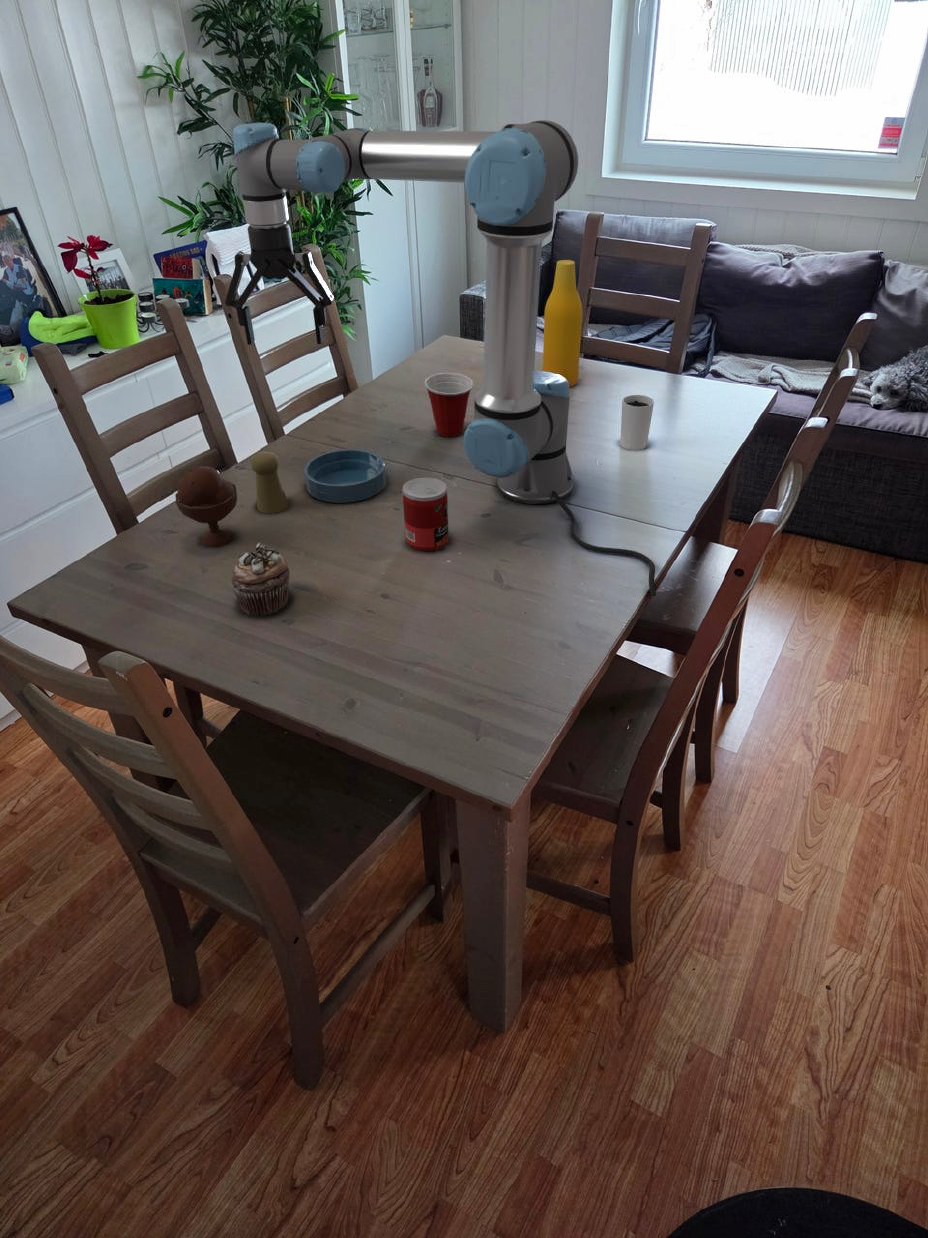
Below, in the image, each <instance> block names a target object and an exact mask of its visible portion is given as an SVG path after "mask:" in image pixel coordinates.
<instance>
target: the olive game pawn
mask: <svg viewBox="0 0 928 1238" xmlns="http://www.w3.org/2000/svg"><path fill="white" fill-rule="evenodd" d="M250 464H251V469H252V470H253V472H255V484H256V485H255V487H256V506H257V510H258V511H259V512H260V513H265V514H275V513H276V514H277V513H279V512H282V511H284V510H286V509H287V508H288V506H289V502H288V498H287V495H286V492H285V489H284V485H283V483H282V480H281V477H280V473H279V471H278V469H279V467H280V461H279V458H278V456H277V455H276V454H275V453H274V452H272V451H259V452H257V453H255V454H254V455H253V456H252V457H251V460H250Z"/></svg>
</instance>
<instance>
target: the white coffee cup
mask: <svg viewBox="0 0 928 1238" xmlns="http://www.w3.org/2000/svg"><path fill="white" fill-rule="evenodd" d="M654 405H655V400H654V399H653V398H652V397H651V396H647V395H643V394H629V395H626V396H624V397H623V398H622V401H621V417H620V418H621V420H620V421H621V422H620V441H619V444H620V446H621V447H622V448H623V449H626V450H631V451H640V450H643V449H645V448H646V447H647V445H648V440H649V434H650V429H651V424H652V423H651V422H652V416H653V411H654Z"/></svg>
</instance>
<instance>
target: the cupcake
mask: <svg viewBox="0 0 928 1238" xmlns="http://www.w3.org/2000/svg"><path fill="white" fill-rule="evenodd" d="M229 580H230V581H229V585H230V588H231V590H232V592H233V594H234V595H235V597H236V600H237V602H238V604H239V606H240V608H241V609H242V611H243V612H244V613H246V614H248V615H252V616H257V617H258V616H260V617H261V616H267V615H272V614H275V613H277V612H278V611H280V610H281V609H283V608H284V607H285V606H286V605H287V604H288V601H289V588H290V568H289V562H288V560H287V559H286V558H285V557H284V556H283V555H282V554H280V552H279V551H278V550H277V549H275V548H272V547H270V546H266V545H265V544H264V543H263V542H258V543H257V544H256V546H255V550H249V549H246V550H245V553H244V554H243V555H242V556H241V557H240V558H239V559H238V562H237V563H236V564H235V565H234V566H233V568H232V576H231V578H230V579H229Z"/></svg>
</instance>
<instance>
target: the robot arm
mask: <svg viewBox="0 0 928 1238" xmlns="http://www.w3.org/2000/svg"><path fill="white" fill-rule="evenodd" d="M279 137H280V135H278V129H277V127H276V126H275V124H273V123H269V122H251V123H250V122H249V123H243V124H238V125H237V126H235V127H234V129H233V130H232V139H233V148H234V150H233V151H234V158H235V163H236V167H237V168H236V169H237V174H238V177H239V184H240V189H241V196H242V205H243V209H244V217H245V222H246V224H248V227H247V235H248V241H249V246H250V253H244V251H242V250H239V251H238V252H237V253H236V254H235V255H234V269H233V273H232V277H231V280H230V283H229V287H228V289H227V294H226V297H225V300H224V304H225V306H227V307H232V308H234V309H235V310H236V315H237V320H238V324H239V326H240V327H243V328H244V333H245V337H246V343H247V345H248V346H249V345H250V346H251V345H253V343H255V340H256V339H255V332H254V328H253V321H252V315H251V310H250V309H251V308H250V306H249V305H245V304H246V303H247V301H248V300H249V298H250V297H251V295H252V293H253V292H254V290H255V289H256V287H257V286H258V284H259V282H260V281H261V279H262V278H264V279H266V280H273V279H277V280H284V279H286V278H287V279H288V280H289V281H290V282H291V283H293V284H294V285H295V286H296V287H297V289H298V290H300V291H301V293H302V294H303V295H305V297H306V298H307V299H308V300H309V301H310V302H311V304H313V305H314V307H313V309H312V313H313V321H314V329H315V336H316V337H315V338H316V345H322V344H323V341H324V331H323V326H325V325H326V324H327V313H326V307H327V306H328V307H329V306H331V305H332V304H333V302H334V300H335V297H334V295H333V294H332V292H331V290H330V289H329V287H328V285H327V283H326V281H325V280H324V278H323V277H322V275H321V273H320V272H319V270H318V269H317V267H316V265H315V263H314V260H313V256H312V252H311V250H307V249H306V250H305V251H303V252H298V253H296V252H295V250H294V246H293V240H292V232H291V226H290V224H289V223H288V222H289V219H290V218H289V210H288V203H287V202H288V201H287V196H286V190H288V191H289V190H290V191H299V192H307V193H308V192H309V193H312V194H321V193H325V194H327V193H328V194H329V193H334V192H336V191H338V190H339V188H340V186H341V185H342V184H343V182H346V181H350V180H384V181H385V180H387V181H388V180H389V181H412V182H415V181H416V182H434V183H435V182H439V183H461V184H463V183H464V188H465V195H466V198H467V201H468V203H469V205H470V206H471V207H472V209H473V211H474V214H475V215H476V216H477V217H476V218H477V219H476V220H477V221H476V222H477V223H476V224H477V225H476V229H477V231H478V233H480V234H481V236H483V238H484V239H485V241H486V256H485V257H486V258H485V259H486V261H485V262H486V263H485V299H484V300H485V305H484V342H483V343H484V346H483V347H484V349H483V386H482V387H481V388H480V389H478V390H477V391H476V393H475V394H474V401H473V402H474V403H473V405H474V408H473V409H474V410H473V421H471V422H470V423H469V424H468V426H467V427H466V429H465V431H464V433H463V438H462V442H463V443H462V444H463V448H464V452H465V454H466V457H467V458H468V460H469V462H471V463H472V464H473V465H474V466H475V468H476V469H477V470H478V471H480V472H482V474H484V475H487V476H489V477H493V478H497V479H496V480H497V481H496V482H497V490H498V492H499V493H500V494H501V495H502V496H503V497H505V498H507V499H508V500H511V501H514V502H517V503H521V504H526V505H546V504H552V503H556V502H557V503H558V505H559V506H560V507H561V508H562V510H563V511H564V512H565V514H566V515H567V516H568V517H569V519H570V522H571V535H572V539H573V540H574V542H575V543H577V545H579V547H582V548H584V549H586V550H589V551H591V552H597V553H603V554H611V555H622V556H629V557H633V558H636V559H639V560H640V561H642V562H644V563H645V564H646V565H647V566H648V567H649V571H648V589H649V595H650V596H651V597H656V596H657V592H656V584H655V576H656V564H655V563H654V562H653V561H652V559H650V558H649V557H648V556H646V555H645V554H643V553H641V552H638V551H635V550H632V549H626V548H618V547H617V548H616V547H615V548H614V547H606V546H597V545H594V544H590V543H588V542H586V541H583V539H581V538H580V537H579V534H578V521H577V518H576V516H575V515H574V513H573V511H572V510H571V509H570V507H568V506H567V503H565V502H564V501H563V499H566V498H567V497H568V496H569V495H571V493H573V489H574V475H573V472H572V468H571V464H570V461H569V457H568V454H567V442H568V424H569V423H568V422H569V411H570V410H569V409H570V408H569V407H570V399H571V395H570V387H569V383H568V381H567V380H566V379H565V378H564V377H562V376H560V375H557V374H554V373H549V372H542V370H535V361H536V346H537V345H536V344H537V330H538V329H537V328H538V315H539V314H538V312H539V297H540V279H541V263H542V262H541V261H542V248H543V241H544V240H545V239H546V238H547V237H548V236H550V234H551V233H552V232H553V229H554V216H555V202H557V201H558V200H560V199H561V198H563V197H564V196H565V195H566V194H567V193H568V192H569V190H570V189H571V188H572V187H573V184H574V182H575V180H576V177H577V174H578V171H579V153H578V148H577V144H576V142H575V140H574V138H573V136H572V135H571V134H570V132H569V131H568V130H567V129H566V128H564V127H563V126H562V125H561V124H559V123H558V122H554V121H551V120H546V119H541V120H539V119H538V120H535V121H531V122H528V123H507V124H505V125H503V126H502V127H501V129H500V130H497V131H492V130H491V131H490V130H489V131H486V130H485V131H483V130H482V131H481V130H480V131H479V130H475V131H474V130H473V131H471V130H369V129H368V128H364V127H349V128H347V129H345V130H342V131H338V132H334V133H328V134H324V135H321V136H320V135H319V136H316V137H311V138H307V139H282V138H279ZM249 262H250V263H251V265H252V266H253V267H254V268H255V269H256V271H255V272H254V274H253V275H252V277H251V279H250V281H249V282H248V284H247V285H246V287H245V289H244V290H243V291H242V293H241V295H240V296H239V298H236V297H237V294H238V291H239V287H240V284H241V281H242V280H241V279H242V278H243V273H244V271H245V267H246V266H247V265H248V264H249ZM296 262H299V264H300V265H301V266H303V267H304V269H305V271H306V274H308V276H309V278H310V279H311V281H312V283H313V284H314V287H315V288H316V290H315V289H314V287H312V285H310V283H309V282H308V281H307V280H306V279H305V278H304V277H303V276H302V274H301V273H300V272H299V270H298V269H297V268H296V267H295V264H296Z"/></svg>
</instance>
